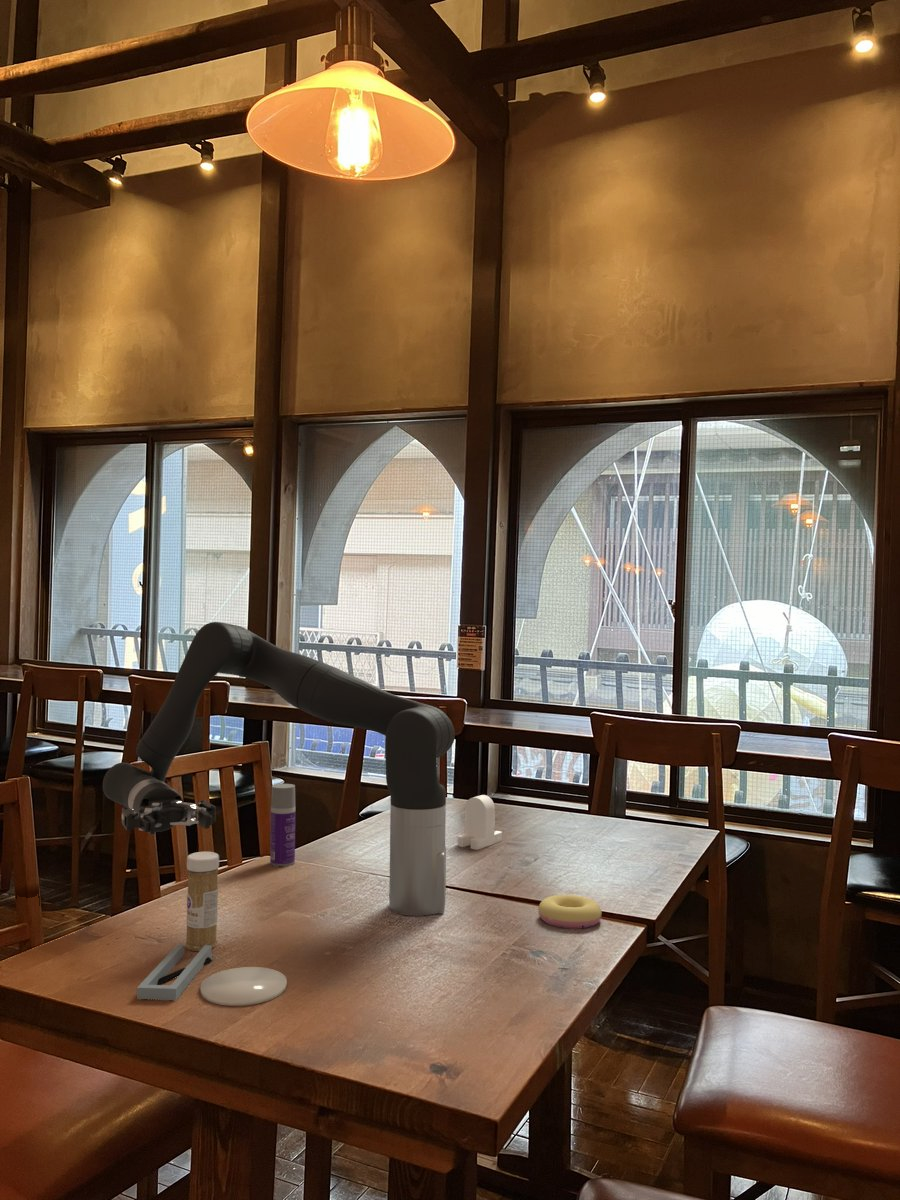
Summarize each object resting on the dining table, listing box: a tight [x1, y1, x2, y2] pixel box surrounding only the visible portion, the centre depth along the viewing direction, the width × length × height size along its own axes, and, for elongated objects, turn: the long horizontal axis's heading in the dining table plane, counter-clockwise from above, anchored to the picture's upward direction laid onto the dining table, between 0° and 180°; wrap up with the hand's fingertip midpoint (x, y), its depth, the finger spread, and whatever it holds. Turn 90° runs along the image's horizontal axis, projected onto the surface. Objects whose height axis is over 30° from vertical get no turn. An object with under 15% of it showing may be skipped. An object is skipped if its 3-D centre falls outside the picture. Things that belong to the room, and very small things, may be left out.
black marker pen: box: [157, 955, 216, 985], centre depth 126 cm, size 12×1×1 cm, turn 149°
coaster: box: [200, 966, 288, 1007], centre depth 122 cm, size 11×11×1 cm
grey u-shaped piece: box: [136, 943, 213, 1001], centre depth 125 cm, size 5×15×2 cm, turn 177°
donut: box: [538, 894, 603, 930], centre depth 150 cm, size 10×5×9 cm
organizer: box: [457, 794, 503, 850], centre depth 198 cm, size 5×10×10 cm, turn 144°
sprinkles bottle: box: [185, 851, 220, 952], centre depth 137 cm, size 5×5×13 cm
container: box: [269, 783, 296, 867], centre depth 180 cm, size 5×5×15 cm
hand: (180, 825), depth 146 cm, fingers open, 8 cm apart
